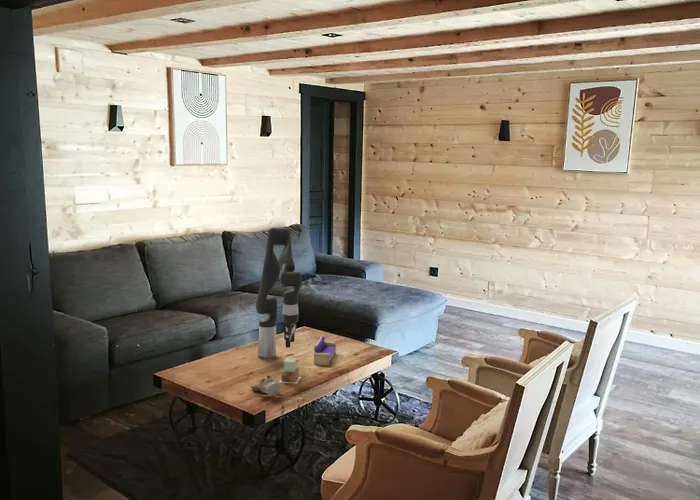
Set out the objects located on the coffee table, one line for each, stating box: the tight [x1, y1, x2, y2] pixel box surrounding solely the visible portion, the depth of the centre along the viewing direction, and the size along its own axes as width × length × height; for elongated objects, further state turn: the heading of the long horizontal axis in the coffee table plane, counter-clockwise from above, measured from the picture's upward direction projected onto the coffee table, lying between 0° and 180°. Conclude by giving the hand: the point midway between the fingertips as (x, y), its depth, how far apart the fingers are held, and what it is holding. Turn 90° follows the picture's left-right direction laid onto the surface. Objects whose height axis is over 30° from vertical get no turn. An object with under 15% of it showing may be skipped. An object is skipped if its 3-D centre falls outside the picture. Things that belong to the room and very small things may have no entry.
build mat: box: [278, 376, 301, 385], centre depth 300 cm, size 12×12×1 cm
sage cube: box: [283, 357, 297, 372], centre depth 298 cm, size 5×5×5 cm
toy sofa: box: [313, 335, 337, 366], centre depth 332 cm, size 21×9×10 cm, turn 171°
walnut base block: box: [280, 367, 300, 384], centre depth 299 cm, size 7×7×5 cm
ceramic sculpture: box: [250, 375, 281, 397], centre depth 284 cm, size 11×9×15 cm
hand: (290, 344), depth 297 cm, fingers open, 8 cm apart
